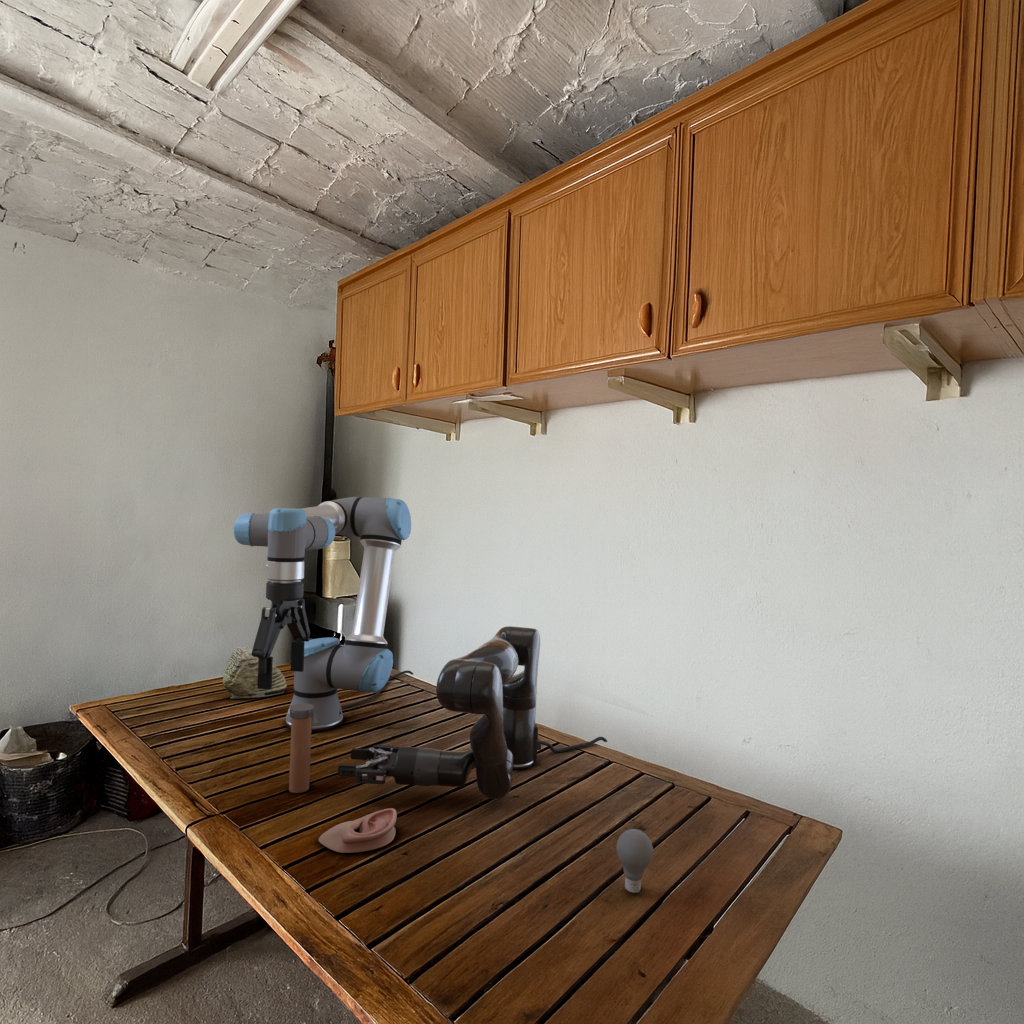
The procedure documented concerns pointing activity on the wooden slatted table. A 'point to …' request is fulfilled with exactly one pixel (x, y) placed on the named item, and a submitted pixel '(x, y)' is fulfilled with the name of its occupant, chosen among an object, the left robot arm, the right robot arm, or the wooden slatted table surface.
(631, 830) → the light bulb
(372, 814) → the anatomical model
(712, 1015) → the wooden slatted table surface
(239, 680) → the fossil
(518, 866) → the wooden slatted table surface
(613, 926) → the wooden slatted table surface
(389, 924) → the wooden slatted table surface
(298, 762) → the pinkish brown cylinder
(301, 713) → the lid
